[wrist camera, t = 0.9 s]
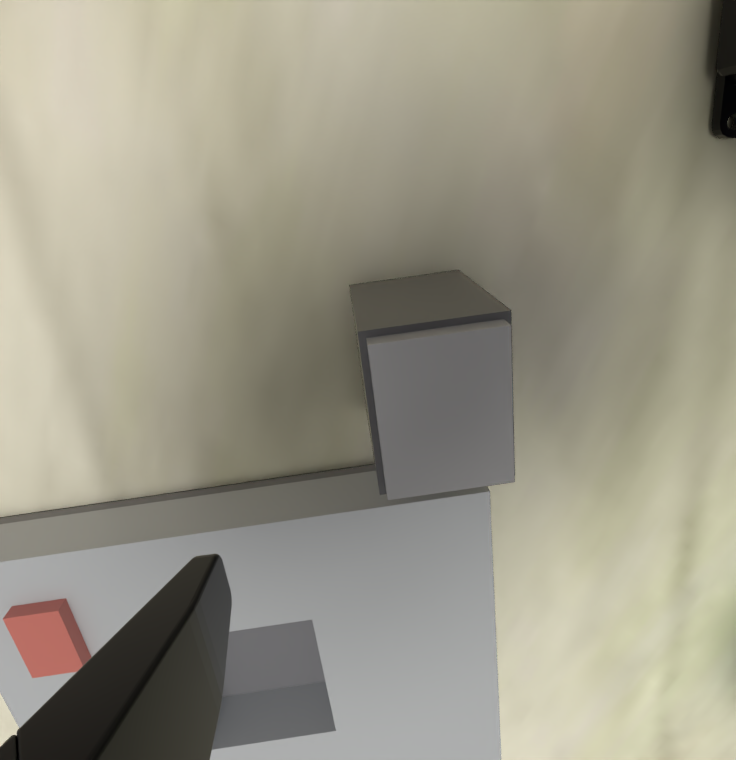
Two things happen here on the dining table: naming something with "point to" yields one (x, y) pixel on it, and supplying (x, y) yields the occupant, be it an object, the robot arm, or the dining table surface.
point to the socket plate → (281, 610)
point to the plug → (436, 383)
